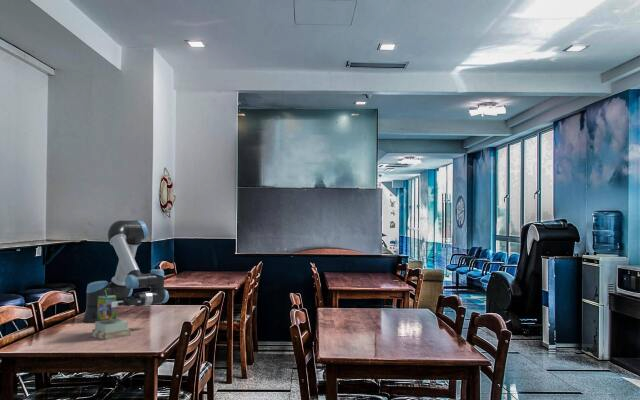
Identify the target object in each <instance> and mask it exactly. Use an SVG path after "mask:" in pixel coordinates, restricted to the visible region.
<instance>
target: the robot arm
mask: <svg viewBox="0 0 640 400" xmlns="http://www.w3.org/2000/svg"><path fill="white" fill-rule="evenodd" d="M148 231H149V229H148V227H147V224H146V223H145V221H143V220H137V219H136V220H123V219H121V220H120V219H119V220H117V221H114V222H113V223H112V224H111V225H110V226H109V228H108V230H107V240H108V242H109V244H110V245H111V246H113V249H114V250H115V253H116V256H117V257H118V263H117V266H116V270H115V275H114V276H113V277H112V278H111V280H110V282H108V281H107V280H98V281H93V282H90V283H88V284H87V287H86V292H85V293H86V305H85V307H86V309H85V312H84V314H83V317H82V322H84V323H88V324H89V323H91V324H92V323H94V324H95V322H96V321H104V320H97V298H98V296H106V294H105V290H106V293H107V295H116V302H111V307H116V308H117V307H119V308H120V307H130V306H135V307H142V306H143V307H144V306H145V307H148V306H150V305H159V304H160V305H161V304H164V303H167V302H168V300H169V298H170V294H169V291H168V290H167V289H165V271H164V270H163V269H160V268H157V269H150V271H149V273H142V272H141V270H140V268H139V266H138V263H137V262H136V259H135V257H136V253H137V249H138V247H139V246H140V245H141V244H142V241H144V240H145V239H147V238H148ZM141 288H150V291H149V290H148V291H140V292H135V293H134V294H133V291H134V290H133V289H141ZM132 294H133V296H132ZM107 320H111V319H107Z"/></svg>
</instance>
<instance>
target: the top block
mask: <svg viewBox="0 0 640 400" xmlns="http://www.w3.org/2000/svg"><path fill="white" fill-rule="evenodd" d="M127 328H128V329H129V326H128V321H126V320H123V319H119V318H116V319H110V320H104V321H96V322H95V323H94V329H96V330H99V331H101V332H104V333H107V332H114V331H120V330H127Z"/></svg>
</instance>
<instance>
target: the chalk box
mask: <svg viewBox="0 0 640 400" xmlns="http://www.w3.org/2000/svg"><path fill="white" fill-rule="evenodd" d="M105 294H106V296H98V298H97V320H107V319H110V320H111V319H117V307H111V302H116V295H107V293H106V290H105Z"/></svg>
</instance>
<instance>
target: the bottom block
mask: <svg viewBox="0 0 640 400" xmlns="http://www.w3.org/2000/svg"><path fill="white" fill-rule="evenodd" d="M131 330H132V329H131V328H129V327H128V328H127V330H120V331H114V332H107V333H104V332H101V331H99V330H96V329H95V328H93V329H92V331H91V337H94V338H98V339H101V340H104V341H107V340H113V339H114V340H115V339H118V338H119V339H120V338H124V337H125V338H126V337H130V336H132V333H131V332H132V331H131Z"/></svg>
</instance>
